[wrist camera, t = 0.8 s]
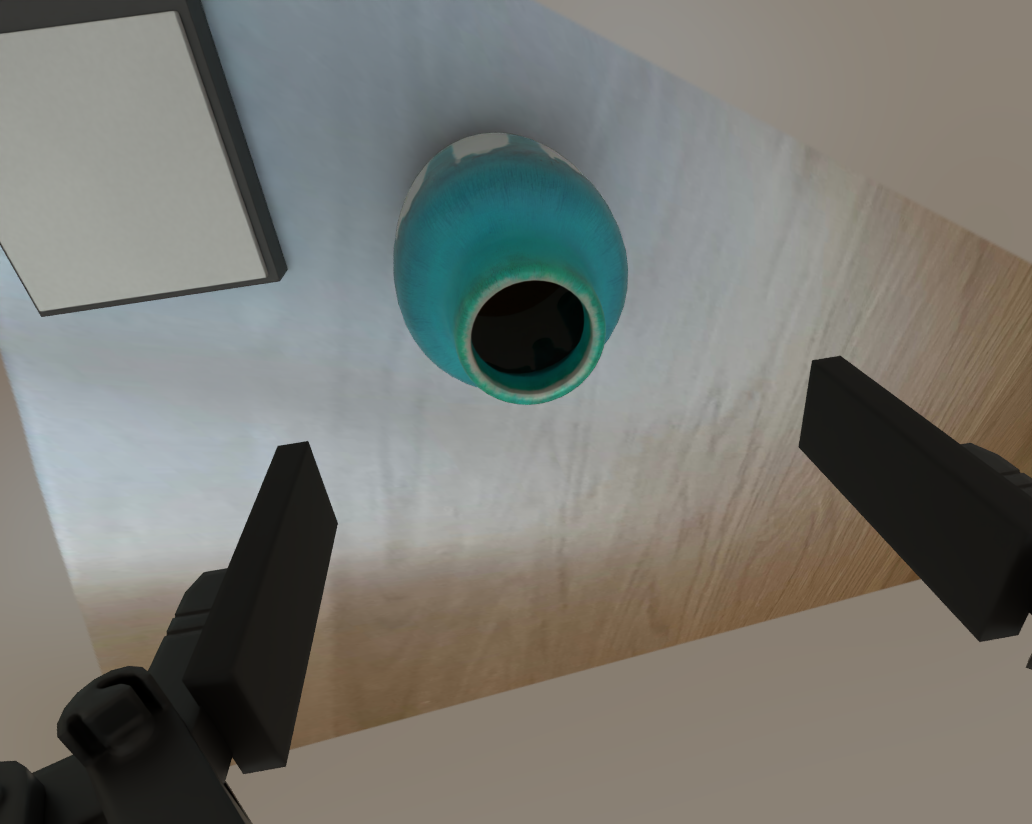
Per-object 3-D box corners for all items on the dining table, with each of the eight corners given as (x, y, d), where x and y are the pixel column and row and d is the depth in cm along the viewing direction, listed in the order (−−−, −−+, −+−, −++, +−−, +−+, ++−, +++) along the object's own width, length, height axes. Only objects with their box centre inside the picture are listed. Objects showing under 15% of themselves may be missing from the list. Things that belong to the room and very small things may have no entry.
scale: (-98, 14, 29) (-145, 10, 27) (192, -24, 30) (171, -31, 27) (61, 304, 37) (35, 321, 35) (287, 269, 37) (278, 284, 35)
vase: (591, 267, 40) (699, 416, 23) (439, 317, 40) (442, 498, 24) (549, 94, 34) (653, 130, 18) (374, 155, 35) (320, 246, 18)
